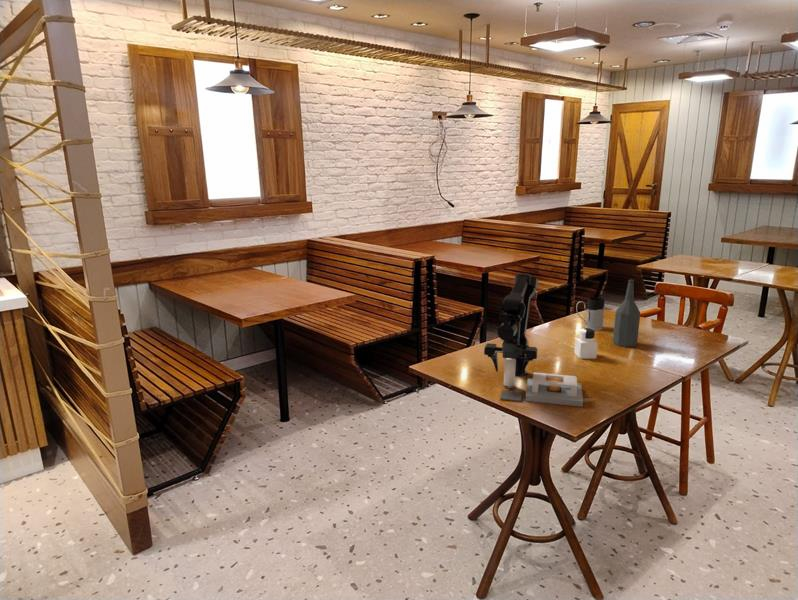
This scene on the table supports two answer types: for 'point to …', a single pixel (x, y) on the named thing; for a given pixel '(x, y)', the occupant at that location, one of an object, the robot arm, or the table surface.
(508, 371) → the white cylinder
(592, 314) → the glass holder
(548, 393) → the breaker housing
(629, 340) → the bottle
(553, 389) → the button
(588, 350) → the medicine bottle
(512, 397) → the pad
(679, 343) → the table surface
